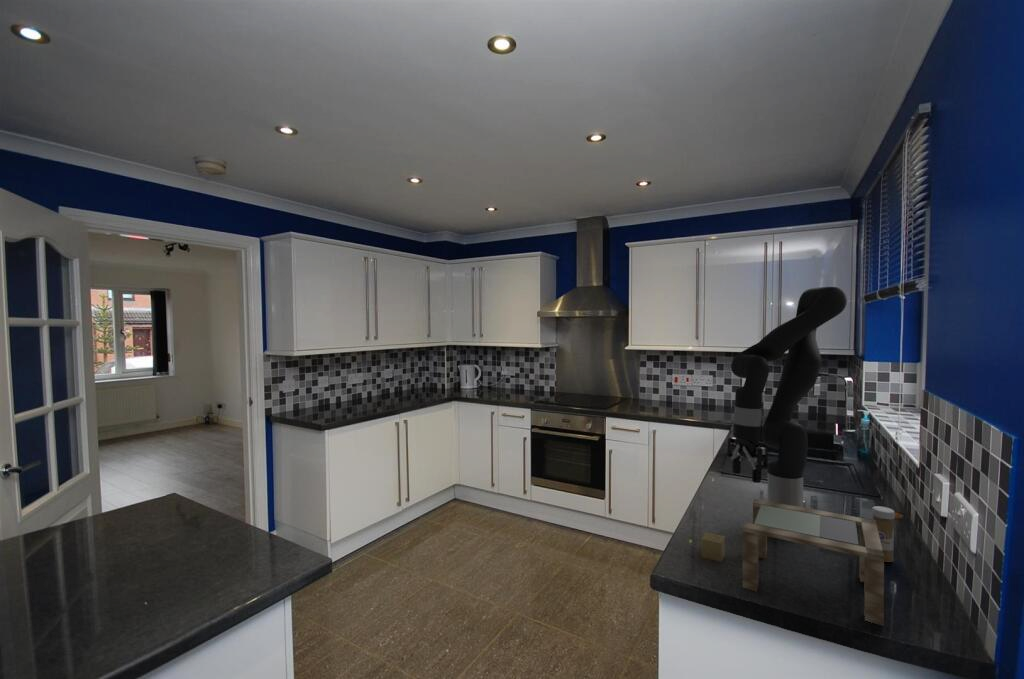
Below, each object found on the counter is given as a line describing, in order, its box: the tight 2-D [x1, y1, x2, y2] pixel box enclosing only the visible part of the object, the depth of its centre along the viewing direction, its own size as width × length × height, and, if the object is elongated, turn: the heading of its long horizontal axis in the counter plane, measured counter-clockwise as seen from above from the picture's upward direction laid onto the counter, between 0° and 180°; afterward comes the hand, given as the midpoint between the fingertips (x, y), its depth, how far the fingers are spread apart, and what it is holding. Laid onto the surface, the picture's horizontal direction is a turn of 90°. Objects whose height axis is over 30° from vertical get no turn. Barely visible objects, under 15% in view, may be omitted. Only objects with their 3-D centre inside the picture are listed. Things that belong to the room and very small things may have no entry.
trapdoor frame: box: [742, 498, 885, 627], centre depth 110 cm, size 26×21×14 cm
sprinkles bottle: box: [872, 505, 896, 563], centre depth 121 cm, size 5×5×13 cm
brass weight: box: [700, 531, 726, 563], centre depth 124 cm, size 5×5×5 cm
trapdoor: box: [754, 505, 860, 562], centre depth 111 cm, size 20×14×4 cm
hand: (746, 477), depth 136 cm, fingers open, 8 cm apart
